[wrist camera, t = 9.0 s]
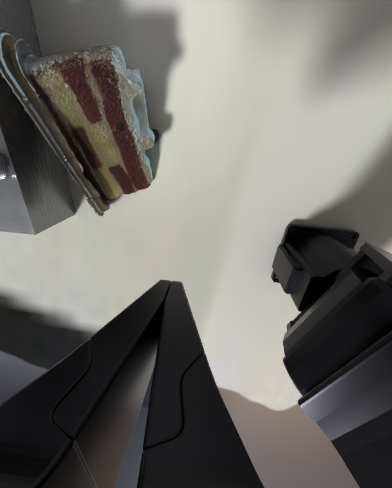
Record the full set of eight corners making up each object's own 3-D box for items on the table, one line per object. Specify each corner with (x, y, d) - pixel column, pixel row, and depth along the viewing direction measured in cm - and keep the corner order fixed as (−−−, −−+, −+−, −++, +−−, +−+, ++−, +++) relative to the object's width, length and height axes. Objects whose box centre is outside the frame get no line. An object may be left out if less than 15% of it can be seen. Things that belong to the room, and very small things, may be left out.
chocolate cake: (176, 204, 19) (149, 48, 8) (104, 224, 19) (-39, 84, 7) (154, 133, 22) (110, -54, 11) (90, 148, 22) (-26, -35, 10)
